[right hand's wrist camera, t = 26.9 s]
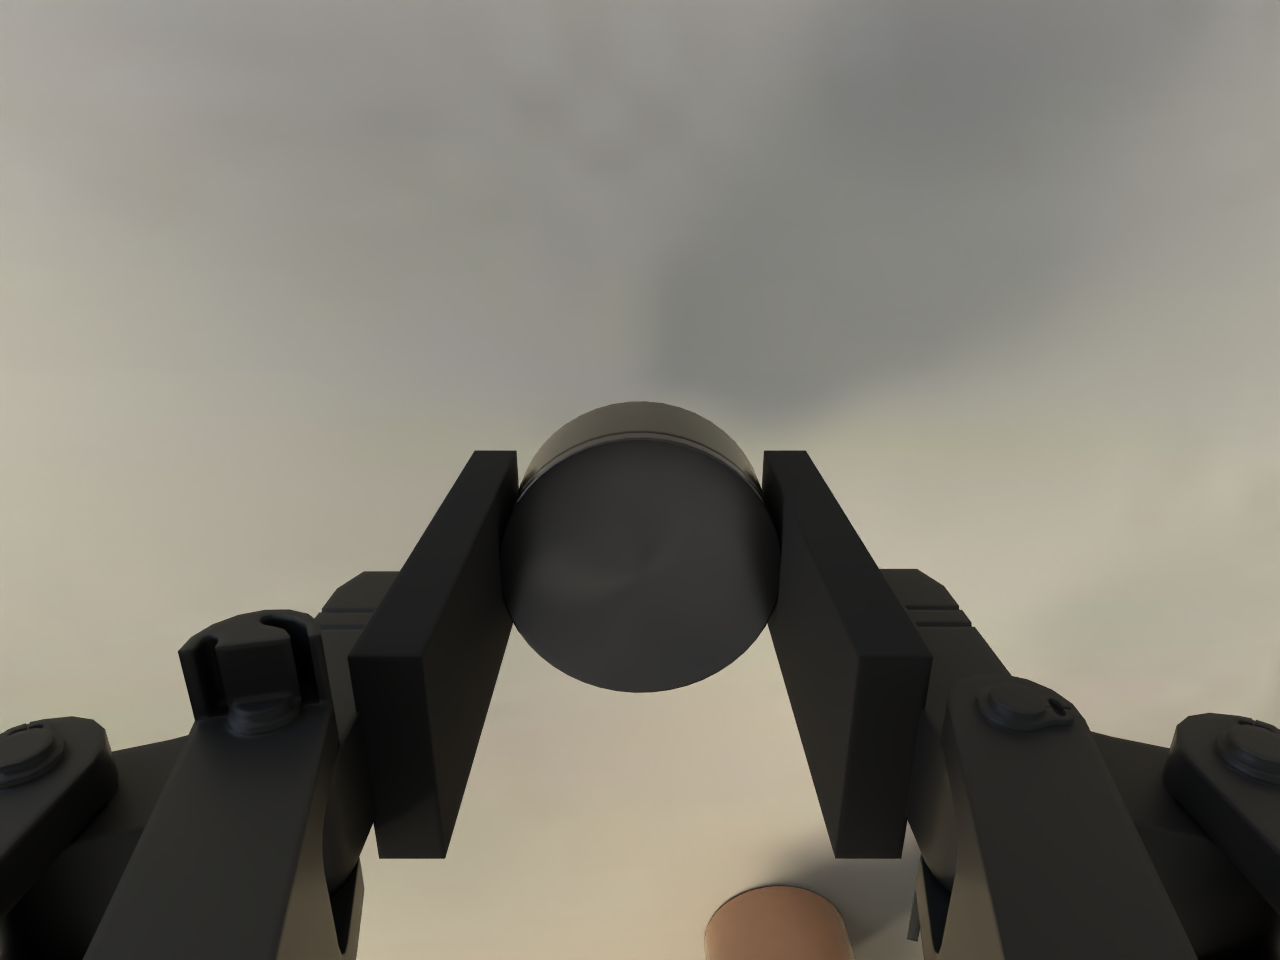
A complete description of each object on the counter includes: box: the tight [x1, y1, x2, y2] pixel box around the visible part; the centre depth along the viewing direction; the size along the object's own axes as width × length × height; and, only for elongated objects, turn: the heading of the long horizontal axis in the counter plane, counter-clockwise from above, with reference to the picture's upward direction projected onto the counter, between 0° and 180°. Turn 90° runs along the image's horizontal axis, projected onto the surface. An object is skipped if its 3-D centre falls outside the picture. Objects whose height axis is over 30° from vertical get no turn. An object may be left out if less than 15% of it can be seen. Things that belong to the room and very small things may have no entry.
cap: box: [499, 402, 782, 693], centre depth 13 cm, size 4×5×2 cm
